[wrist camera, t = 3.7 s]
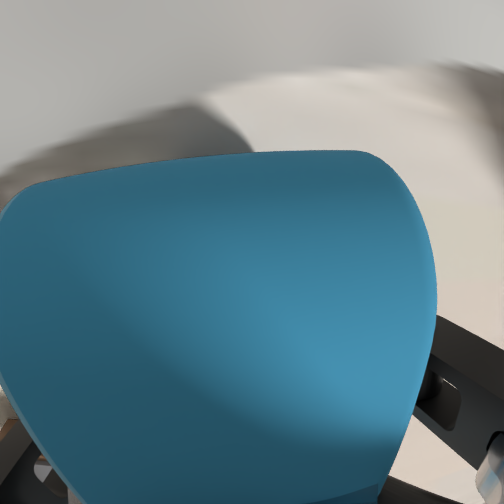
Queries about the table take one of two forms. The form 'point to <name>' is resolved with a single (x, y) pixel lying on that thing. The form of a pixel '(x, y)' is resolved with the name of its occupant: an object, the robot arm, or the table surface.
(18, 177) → the table surface
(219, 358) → the blue rectangular block
